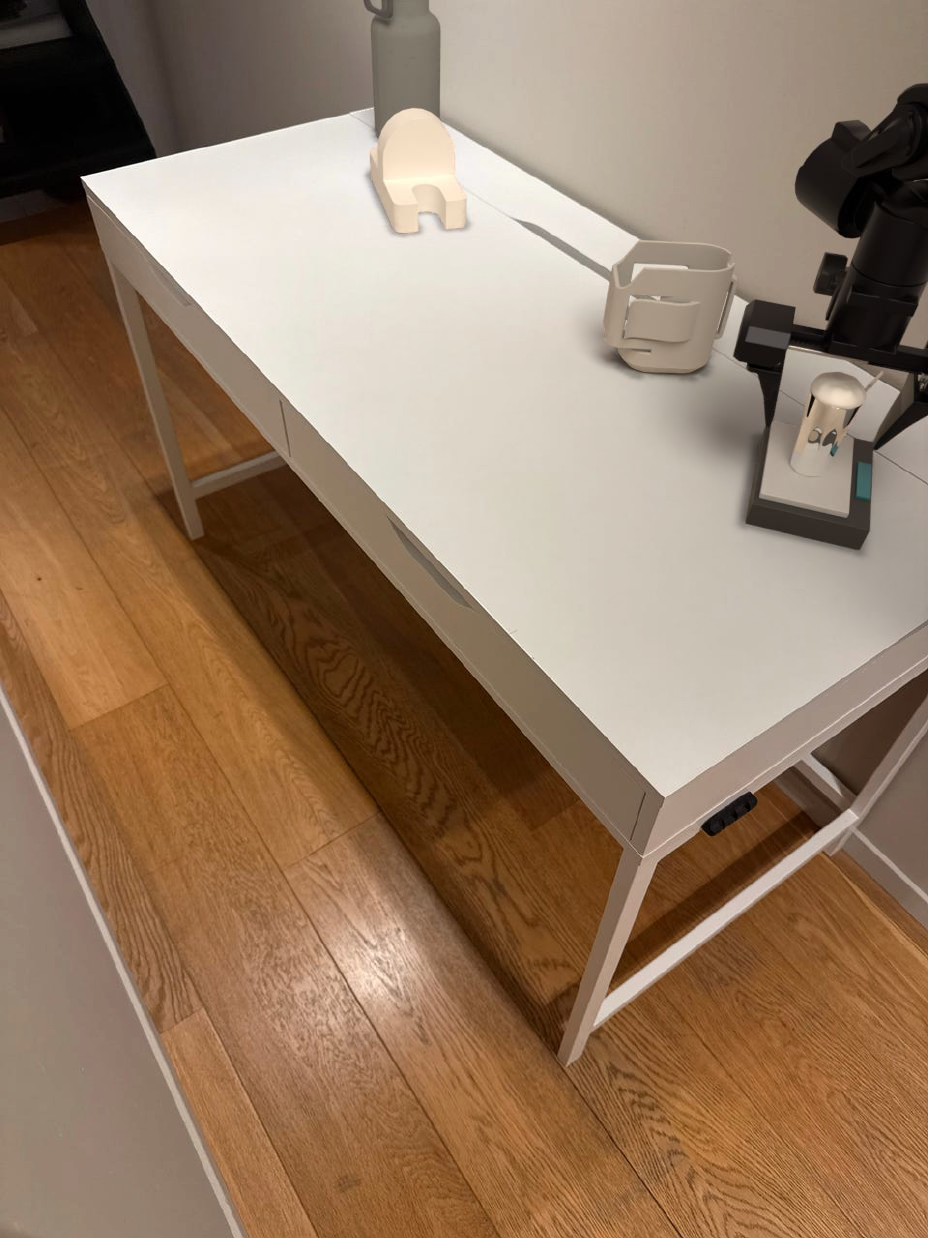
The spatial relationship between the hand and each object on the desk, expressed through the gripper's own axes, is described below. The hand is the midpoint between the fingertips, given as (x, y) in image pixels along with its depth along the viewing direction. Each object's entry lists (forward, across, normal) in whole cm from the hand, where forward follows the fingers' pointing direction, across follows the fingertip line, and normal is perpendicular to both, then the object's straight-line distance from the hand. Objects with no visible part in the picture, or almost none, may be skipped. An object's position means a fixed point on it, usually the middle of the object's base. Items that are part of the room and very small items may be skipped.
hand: (820, 435), depth 78 cm
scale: (+6, -1, 0) cm, 6 cm away
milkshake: (+3, 0, 0) cm, 3 cm away
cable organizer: (+6, +17, -16) cm, 24 cm away
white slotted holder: (+6, +54, -43) cm, 69 cm away
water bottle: (+6, +63, -63) cm, 89 cm away
